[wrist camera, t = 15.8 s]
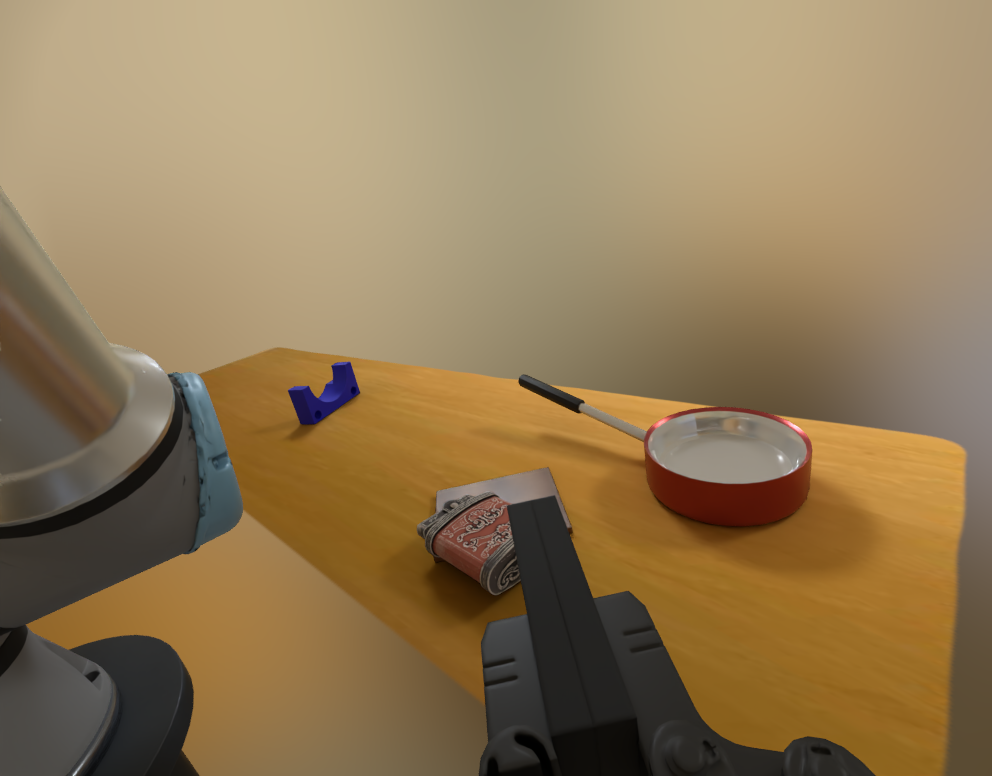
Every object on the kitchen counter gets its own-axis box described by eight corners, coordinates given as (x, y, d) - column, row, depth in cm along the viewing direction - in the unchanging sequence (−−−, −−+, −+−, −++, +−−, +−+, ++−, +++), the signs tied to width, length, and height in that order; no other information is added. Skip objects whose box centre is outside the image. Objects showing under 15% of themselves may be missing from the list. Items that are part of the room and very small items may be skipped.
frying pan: (480, 450, 56) (469, 403, 54) (547, 406, 64) (540, 363, 62) (781, 553, 34) (785, 479, 31) (826, 465, 42) (832, 400, 39)
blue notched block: (340, 393, 86) (330, 363, 84) (360, 392, 84) (350, 361, 82) (293, 424, 76) (280, 390, 74) (314, 424, 74) (302, 389, 72)
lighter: (561, 545, 38) (479, 506, 45) (557, 510, 37) (474, 475, 44) (491, 606, 33) (411, 551, 40) (484, 567, 32) (403, 517, 39)
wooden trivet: (434, 562, 40) (433, 557, 39) (437, 495, 49) (436, 491, 49) (572, 532, 40) (571, 527, 40) (549, 471, 49) (548, 466, 49)
